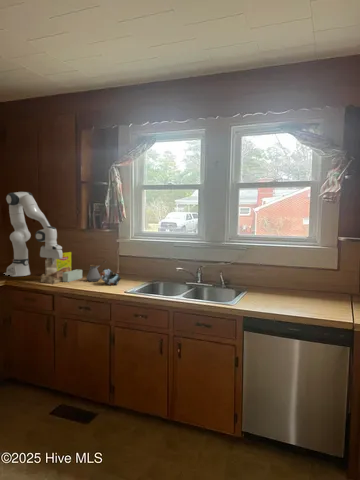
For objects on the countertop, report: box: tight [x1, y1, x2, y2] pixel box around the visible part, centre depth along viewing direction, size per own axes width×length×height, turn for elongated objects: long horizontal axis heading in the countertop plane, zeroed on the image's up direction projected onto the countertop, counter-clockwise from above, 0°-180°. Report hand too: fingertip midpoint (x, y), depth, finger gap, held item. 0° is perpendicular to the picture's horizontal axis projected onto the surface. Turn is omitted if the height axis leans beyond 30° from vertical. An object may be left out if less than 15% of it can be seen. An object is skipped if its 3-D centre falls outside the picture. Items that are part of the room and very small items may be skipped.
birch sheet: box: [44, 258, 57, 275], centre depth 283 cm, size 2×11×14 cm, turn 159°
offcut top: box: [52, 271, 63, 278], centre depth 281 cm, size 5×10×4 cm, turn 172°
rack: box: [40, 273, 63, 284], centre depth 282 cm, size 13×18×6 cm
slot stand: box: [62, 269, 83, 283], centre depth 286 cm, size 5×18×7 cm, turn 159°
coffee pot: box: [86, 260, 107, 283], centre depth 288 cm, size 21×12×15 cm, turn 152°
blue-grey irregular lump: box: [100, 268, 122, 287], centre depth 273 cm, size 15×12×14 cm
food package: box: [57, 251, 72, 273], centre depth 302 cm, size 15×1×20 cm, turn 143°
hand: (51, 263), depth 282 cm, fingers closed on birch sheet, 2 cm apart
